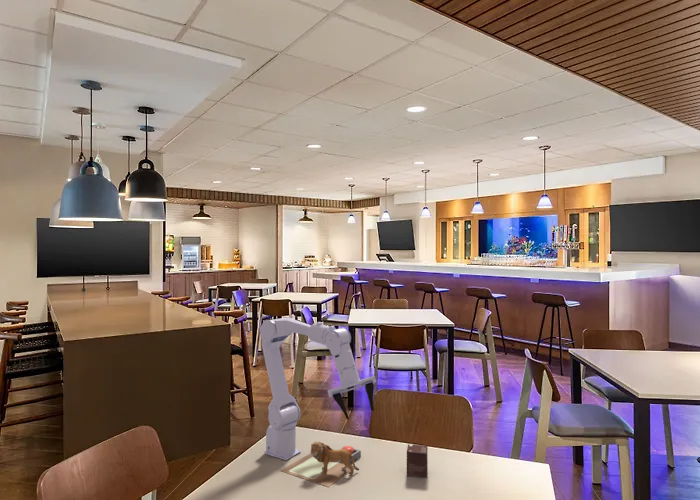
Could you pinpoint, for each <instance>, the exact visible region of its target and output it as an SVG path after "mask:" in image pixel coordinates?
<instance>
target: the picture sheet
mask: <svg viewBox="0 0 700 500" xmlns="http://www.w3.org/2000/svg"><path fill="white" fill-rule="evenodd" d="M352 466H353V465H352ZM322 467H324V464H323V462H318V461H317V459H315V458H314V457H313V456H312V455H311V453H308V454H307V455H305V456H303V457H301V458H299V459H298V460H296V461H294V462H292V463H290V464H289V465H287V466H286V467H284V468H282V469H280V470H279V471H280V472H283V473H286V474H289V475H292V476H295V477H297V478H300V479H303V480H305V481H309V482H311V483H315V484H319V485H322V486H324V487H327V488H329V487H330V486H332V485H334V484H335V483H336V482H339V480H341V479H342V478H344V477H345V476H347V475H348V474H349V472H351V470H350V469H349V468H348V467H347V468H346V470H342V467H345V464H344V463H343V462H342V461H339V462H329V463H328V466H327V469H328V471H327V473H326V474H323V473H322V472H323V471H324V470H322ZM355 467H356V468H357V466H356V465H355ZM353 470H355V468H354V466H353Z"/></svg>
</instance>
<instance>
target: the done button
mask: <svg viewBox="0 0 700 500" xmlns="http://www.w3.org/2000/svg"><path fill="white" fill-rule="evenodd" d="M341 449H345V450H348V451H349V452H350V453H351V455H352V454H353V453H354V449H355V448H354V447H353V446H351V445H347V446H345V445H344V446H343V447H341Z"/></svg>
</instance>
